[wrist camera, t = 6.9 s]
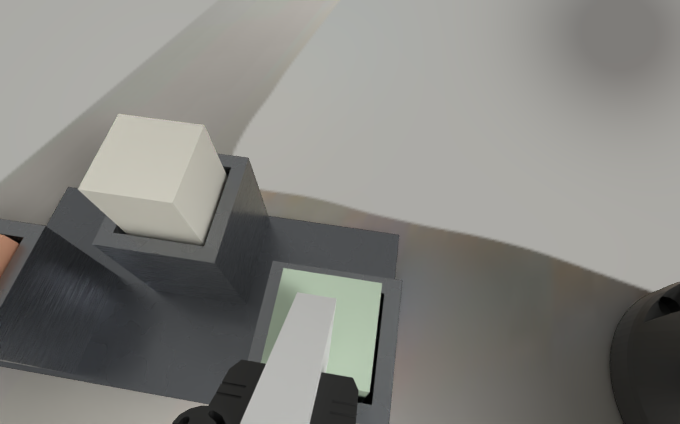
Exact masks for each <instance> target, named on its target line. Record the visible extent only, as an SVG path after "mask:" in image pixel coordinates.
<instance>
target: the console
mask: <svg viewBox="0 0 680 424" xmlns="http://www.w3.org/2000/svg"><path fill="white" fill-rule="evenodd" d="M218 157H219V159H220V161H221V163H222V166H223V168H224V170H225V172H226V175H227V177H228V179H227V182H226V184H225V187H224V190H223V193H222V196H221V199H220V202H219V205H218V208H217V211H216V214H215V216H214V219H213V222H212V225H211V228H210V231H209V234H208V237H207V240H206V243H205V246H198V245H191V244H185V243H178V242H171V241H165V240H158V239H152V238H145V237H139V236H132V235H127V234H126V233H125V232H124V231H123V230H122V229H121V228H120V227H119V226H118V225H116V224H115V223H114V222H113V221H112V220H111V219H110V218H109V217H108V216H107V215H105V214H104V213H103V212H102V211H101V210H100V209H99V208H98V207H97V206H96V205H94V204H93V203H92V202H91V201H90V200H89V199H88V198H87V197H86V196H85V195H83V194H82V193H81V192H80V191H79V190H78V188H72V187H68V188H67V190H66V192H65V194H64V195H63V197H62V199H61V201H60V203H59V204H58V206H57V208H56V210H55V212H54V213H53V215H52V217H51V219H50V221H49V222H48V224H47V226H43V225H36V224H30V223H23V222H17V221H10V220H4V219H0V234H1V235H5V236H7V237H8V238H10V239H12V240H13V241H15V242H17V243H19V244H20V245H19V246H18V248H17V250H16V252H15V253H14V255H13V257H12V259H11V260H10V262H9V264H8V266H7V267H6V269H5V271H4V273H3V274H2V276H1V278H0V366H1V367H7V368H12V369H18V370H23V371H29V372H34V373H40V374H45V375H51V376H56V377H62V378H67V379H73V380H78V381H84V382H89V383H95V384H100V385H106V386H111V387H117V388H122V389H128V390H133V391H139V392H144V393H150V394H155V395H161V396H166V397H172V398H177V399H183V400H188V401H194V402H199V403H205V404H210V402H211V400H212V399H213V397H214V395H216V391H217V390H218V388H219V386H220V384H222V381H223V379H224V377H225V375H226V374H227V372H228V370H229V369H230V368H231V367H232V366H234V365H235V364H236V363H238V362H239V361H240V360H241V359H242V360H248V361H253V362H259V363H261V360H262V356H263V351H264V347H265V343H266V339H267V335H268V330H269V326H270V322H271V318H272V314H273V309H274V305H275V301H276V297H277V293H278V289H279V284H280V280H281V276H282V272H283V268H287V269H293V270H300V271H306V272H313V273H319V274H326V275H332V276H339V277H345V278H352V279H358V280H365V281H371V282H378V283H382V289H381V298H380V306H379V315H378V324H377V332H376V341H375V350H374V358H373V367H372V375H371V384H370V392H369V393H368V395H367V396H366V397H365V398H364V399H363V401H362V402H361V403H358V404H357V416H356V424H389V418H390V408H391V397H392V386H393V375H394V364H395V353H396V343H397V332H398V321H399V310H400V299H401V289H402V280H395V270H396V261H397V251H398V241H399V235H396V234H389V233H382V232H375V231H368V230H361V229H354V228H348V227H341V226H334V225H327V224H320V223H313V222H306V221H299V220H292V219H285V218H279V217H272V216H268V214H267V211H266V208H265V205H264V202H263V199H262V196H261V193H260V190H259V187H258V184H257V182H256V178H255V175H254V172H253V170H252V167H251V164H250V161H249V158H246V157H239V156H231V155H224V154H218Z"/></svg>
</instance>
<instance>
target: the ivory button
mask: <svg viewBox="0 0 680 424" xmlns="http://www.w3.org/2000/svg"><path fill="white" fill-rule="evenodd" d="M227 179H228V177H227V175H226V172H225V170H224V168H223V166H222V163H221V161H220V159H219V157H218V154H217V152H216V150H215V148H214V146H213V143H212V141H211V139H210V137H209V134H208V132H207V130H206V128H205V125H201V124H193V123H186V122H178V121H170V120H162V119H155V118H147V117H139V116H131V115H124V114H118V116H117V117H116V119H115V121H114V123H113V125H112V127H111V129H110V130H109V132H108V134H107V136H106V138H105V140H104V141H103V143H102V145H101V147H100V149H99V151H98V153H97V154H96V156H95V158H94V160H93V162H92V164H91V166H90V167H89V169H88V171H87V173H86V175H85V177H84V178H83V180H82V182H81V184H80V186H79V188H78V190H79V191H80V192H81V193H82V194H83V195H85V196H86V197H87V198H88V199H89V200H90V201H91V202H92V203H93V204H94V205H96V206H97V207H98V208H99V209H100V210H101V211H102V212H103V213H104V214H105V215H107V216H108V217H109V218H110V219H111V220H112V221H113V222H114V223H115V224H116V225H118V226H119V227H120V228H121V229H122V230H123V231H124V232H125V233H126V234H127V235H132V236H139V237H145V238H152V239H158V240H165V241H171V242H178V243H185V244H191V245H198V246H205V243H206V240H207V237H208V234H209V231H210V228H211V225H212V222H213V219H214V216H215V214H216V211H217V208H218V205H219V202H220V199H221V196H222V193H223V190H224V187H225V184H226V182H227Z"/></svg>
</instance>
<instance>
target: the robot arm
mask: <svg viewBox="0 0 680 424" xmlns="http://www.w3.org/2000/svg"><path fill="white" fill-rule="evenodd" d="M335 307H336V298H330V297H324V296H318V295H312V294H305V293H299V292H297V294H296V296H295V299H294V301H293V303H292V306H291V308H290V310H289V312H288V315H287V317H286V319H285V322H284V324H283V326H282V329H281V331H280V333H279V335H278V338H277V340H276V342H275V345H274V347H273V349H272V351H271V354H270V356H269V358H268V361H267V363H266V364H265V363H259V362H253V361H248V360H242V359H241V360H240V361H239V362H238V363H236V364H235V365H234V366H232V367H231V368H230V369H229V370H228V372H227V374H226V375H225V377H224V379H223V381H222V384H220V386H219V388H218V390H217V391H216V395H214V397H213V399H212V400H211V402H210V404H209V406H199V407H195V408H191V409H189V410H187V411H185V412H183V413H182V414H180V415H179V416H178V417H177V418H176V419H175V420H174V421H173V423H172V424H356V416H357V404H358V393H359V390H358V388H357V386H356V383H355V381H354V379H353V378H352V377H347V376H341V375H335V374H329V373H326V369H327V365H328V360H329V352H330V345H331V337H332V330H333V322H334V314H335ZM610 368H611V380H612V385H613V390H614V395H615V399H616V402H617V405H618V408H619V411H620V413H621V416H622V419H623V421H624V423H625V424H680V282H677V283H674V284H672V285H669V286H667V287H665V288H662V289H660V290H657V291H655V292H653V293H651V294H648V295H646V296H645V297H643V298H641V299H640V300H639V301H637V302H636V303H635V304H634V305H633V306H632V307H631V308H630V309H629V310H628V311H627V312H626V313H625V315H624V316H623V318H622V319H621V321H620V323H619V325H618V327H617V329H616V332H615V335H614V338H613V342H612V348H611V358H610Z"/></svg>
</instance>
